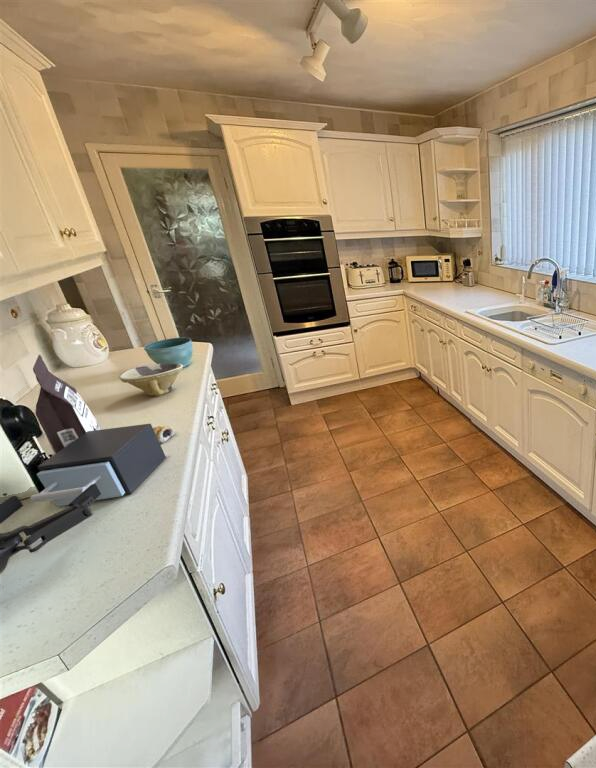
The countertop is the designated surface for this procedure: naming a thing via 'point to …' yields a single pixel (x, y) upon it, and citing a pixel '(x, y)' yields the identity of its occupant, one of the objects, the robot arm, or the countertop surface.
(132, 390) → the countertop surface
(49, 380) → the protein powder
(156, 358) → the teal blue bowl
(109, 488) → the light blue drawer
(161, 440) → the pastry
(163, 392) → the bowl
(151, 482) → the countertop surface
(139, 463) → the drawer cabinet
